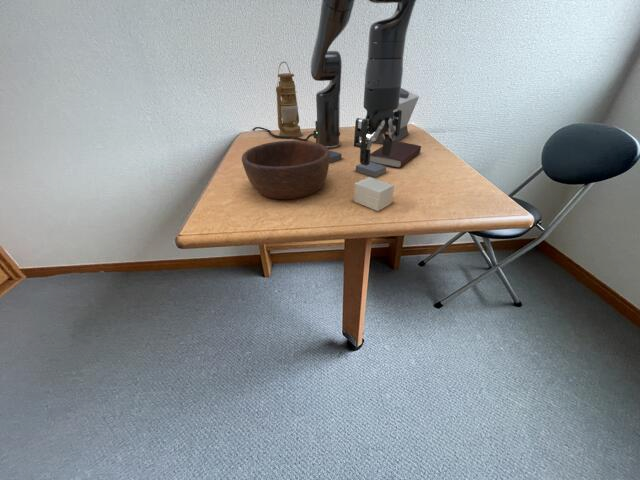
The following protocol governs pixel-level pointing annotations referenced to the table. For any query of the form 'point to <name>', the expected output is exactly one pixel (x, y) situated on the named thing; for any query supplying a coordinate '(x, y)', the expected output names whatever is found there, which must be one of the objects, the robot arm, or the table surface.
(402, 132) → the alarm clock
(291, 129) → the lantern
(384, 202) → the white rectangular block
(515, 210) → the table surface
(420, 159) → the table surface
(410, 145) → the book
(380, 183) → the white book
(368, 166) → the blue-grey flat blocks
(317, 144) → the wooden bowl
